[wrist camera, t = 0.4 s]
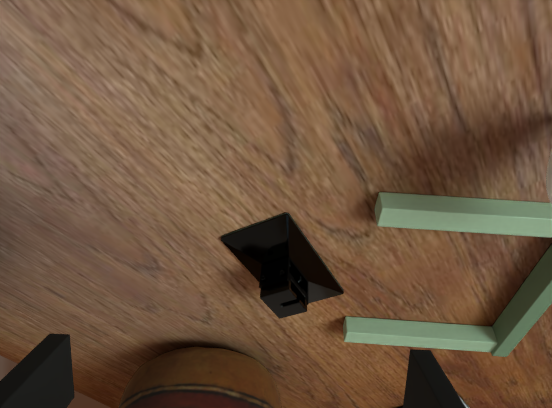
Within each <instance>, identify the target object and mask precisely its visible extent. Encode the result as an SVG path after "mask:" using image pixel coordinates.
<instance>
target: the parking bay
mask: <svg viewBox="0 0 552 408" xmlns="http://www.w3.org/2000/svg"><path fill="white" fill-rule="evenodd" d="M374 211H375V216H376V222H377V226H383V227H398V228H413V229H428V230H443V231H459V232H474V233H489V234H504V235H519V236H534V237H549V238H552V205H551V203H542V202H526V201H511V200H495V199H480V198H464V197H449V196H433V195H418V194H402V193H387V192H379V194H378V198H377V201H376V205H375V209H374ZM551 303H552V244H551V245H550V247H549V248H548V250H547V251H546V252H545V254H544V255H543V257H542V258H541V259H540V261H539V262H538V263H537V265H536V266H535V268H534V269H533V270H532V272H531V273H530V275H529V276H528V277H527V279H526V280H525V282H524V283H523V284H522V286H521V287H520V288H519V290H518V291H517V293H516V294H515V295H514V297H513V298H512V300H511V301H510V302H509V304H508V305H507V307H506V308H505V309H504V311H503V312H502V313H501V315H500V316H499V318H498V319H497V320H496V322H495V323H494V325H493V326H492V327H489V326H475V325H461V324H446V323H432V322H418V321H404V320H389V319H375V318H361V317H347V316H346V317H345V320H344V324H343V334H344V342H355V343H369V344H383V345H397V346H411V347H425V348H439V349H453V350H467V351H481V352H491V354H492V356H503V357H507V356H508V355H509V353H510V352H511V351H512V350H513V349H514V347H515V346H516V345H517V344H518V343H519V341H520V340H521V339H522V338H523V337H524V336H525V334H526V333H527V332H528V331H529V330H530V328H531V327H532V326H533V325H534V324H535V322H536V321H537V320H538V319H539V318H540V317H541V315H542V314H543V313H544V312H545V311H546V309H547V308H548V307H549V306H550V305H551Z"/></svg>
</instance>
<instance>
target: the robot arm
mask: <svg viewBox="0 0 552 408" xmlns="http://www.w3.org/2000/svg"><path fill="white" fill-rule="evenodd" d="M73 398H74V385H73V372H72V359H71V346H70V335H68V334H49V335H48V336H47V337H46V338H45V339H44V340H43V341H42V342H41V343H39V344H38V345H37V346H36V347H35V348H34V349H33V350H32V351H31V352H30V353H29V354H28V355H27V356H26V357H25V358H24V359H23V360H22V361H21V362H20V363H19V364H18V365H17V366H16V367H14V368H13V369H12V370H11V371H10V372H9V373H8V374H7V375H6V376H5V377H4V378H3V379H2V380H1V381H0V408H67V406H68V405H69V404H70V402H71V400H72V399H73ZM403 408H466V407H465V405H464V404H463V402H462V400H461V399H460V397H459V396H458V394H457V392H456V391H455V389H454V388H453V386H452V384H451V383H450V381H449V380H448V378H447V376H446V375H445V373H444V372H443V370H442V368H441V367H440V365H439V364H438V362H437V360H436V359H435V357H434V356H433V354H432V352H431V351H430V350H411V349H410V356H409V364H408V372H407V380H406V388H405V396H404V404H403Z"/></svg>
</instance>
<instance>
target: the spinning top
mask: <svg viewBox="0 0 552 408" xmlns="http://www.w3.org/2000/svg"><path fill="white" fill-rule="evenodd" d="M546 188H547V194H548V197H549V200H550V203H551V205H552V150H551V152H550V156H549V161H548V167H547V176H546Z"/></svg>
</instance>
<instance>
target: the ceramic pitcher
mask: <svg viewBox="0 0 552 408" xmlns="http://www.w3.org/2000/svg"><path fill="white" fill-rule="evenodd" d="M119 408H282V406H281V400H280V395H279V391H278V388H277V385H276V383H275V381H274V379H273V377H272V376H271V374H270V373H269V371H268V370H267V369H266V368H265V367H264V366H263V365H261V364H260V363H259V362H258V361H256V360H255V359H253V358H251V357H249V356H246V355H244V354H241V353H238V352H234V351H230V350H226V349H220V348H202V347H189V348H183V349H177V350H173V351H170V352H167V353H165V354H162V355H160V356H158V357H156V358H154V359H152V360H149V361H148V362H146V363H145V364H143V365H142V366H141V367H140V368H139V369H138V370H137V371H136V373H135V374H134V375H133V377H132V378H131V380H130V381H129V382H128V384H127V386H126V389H125V391H124V393H123V396H122V399H121V402H120V405H119Z"/></svg>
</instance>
